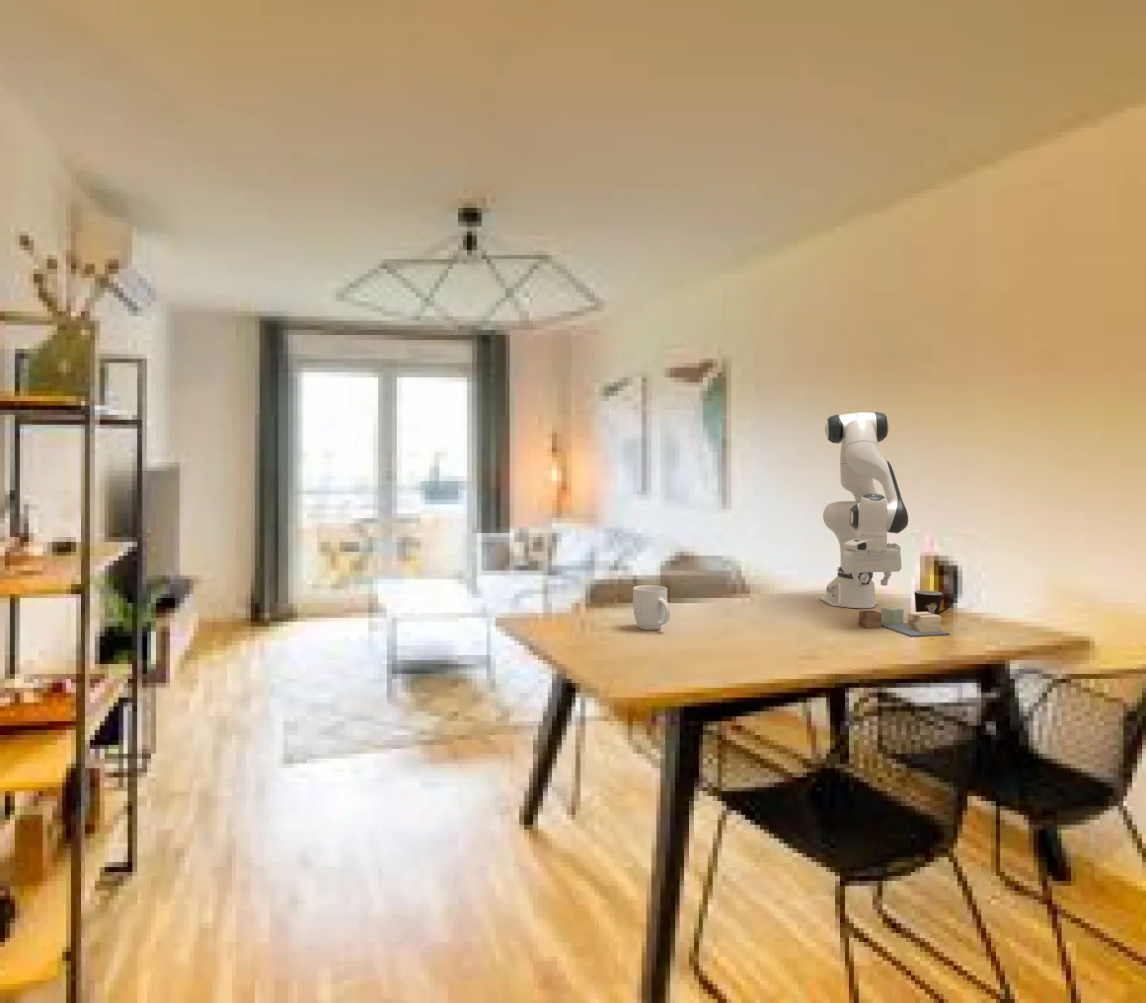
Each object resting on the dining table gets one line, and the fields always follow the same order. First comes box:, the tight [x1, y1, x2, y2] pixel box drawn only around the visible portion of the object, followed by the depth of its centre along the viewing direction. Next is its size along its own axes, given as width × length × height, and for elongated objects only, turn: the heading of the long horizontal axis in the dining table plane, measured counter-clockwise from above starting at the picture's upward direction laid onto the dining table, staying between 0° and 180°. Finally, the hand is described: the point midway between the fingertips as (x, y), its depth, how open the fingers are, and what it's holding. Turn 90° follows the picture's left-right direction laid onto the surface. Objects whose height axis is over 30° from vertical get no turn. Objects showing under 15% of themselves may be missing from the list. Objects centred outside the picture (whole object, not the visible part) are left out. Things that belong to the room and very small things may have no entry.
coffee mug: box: [914, 589, 953, 616], centre depth 279 cm, size 12×9×10 cm
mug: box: [632, 584, 671, 631], centre depth 264 cm, size 15×11×13 cm
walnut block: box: [858, 609, 882, 630], centre depth 271 cm, size 5×5×5 cm
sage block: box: [880, 606, 905, 624], centre depth 277 cm, size 5×5×5 cm
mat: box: [881, 622, 951, 638], centre depth 266 cm, size 16×14×1 cm
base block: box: [907, 611, 942, 633], centre depth 264 cm, size 7×7×5 cm
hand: (871, 585), depth 270 cm, fingers open, 8 cm apart
